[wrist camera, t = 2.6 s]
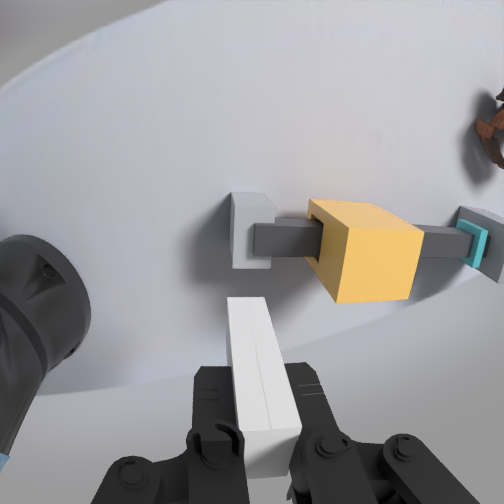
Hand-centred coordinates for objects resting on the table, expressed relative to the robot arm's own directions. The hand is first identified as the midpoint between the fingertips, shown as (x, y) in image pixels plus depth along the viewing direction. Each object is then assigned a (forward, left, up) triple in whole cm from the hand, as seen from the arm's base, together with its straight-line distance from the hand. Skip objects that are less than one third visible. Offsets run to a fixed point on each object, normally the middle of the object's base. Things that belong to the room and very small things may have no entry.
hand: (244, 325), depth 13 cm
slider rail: (+16, 0, -17) cm, 23 cm away
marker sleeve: (+10, 0, -14) cm, 17 cm away
